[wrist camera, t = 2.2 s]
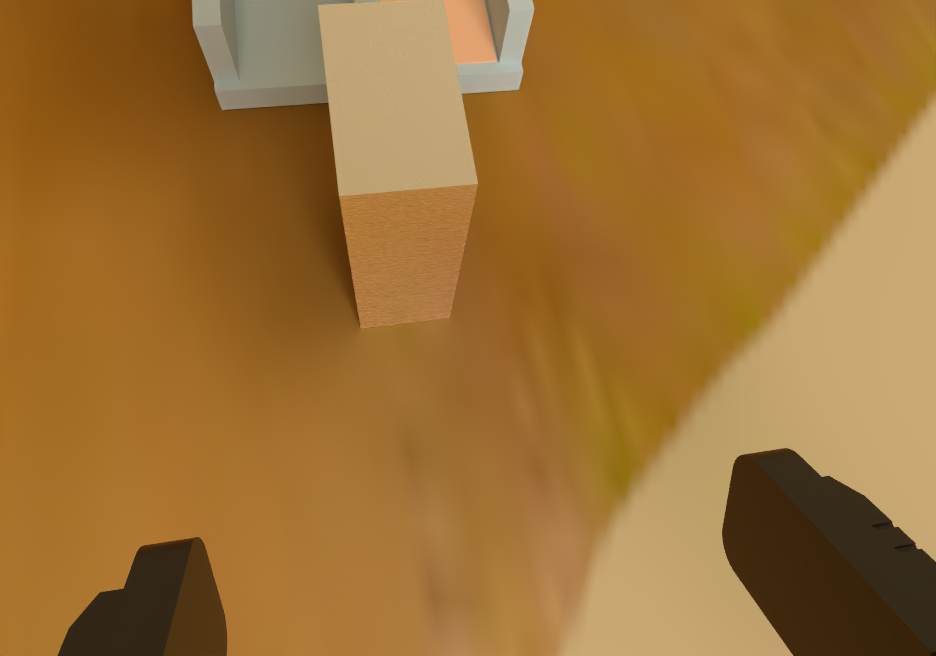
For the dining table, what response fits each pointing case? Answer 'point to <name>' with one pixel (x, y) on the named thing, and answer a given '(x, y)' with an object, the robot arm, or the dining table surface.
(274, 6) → the slot rack
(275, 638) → the dining table surface
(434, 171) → the panel
